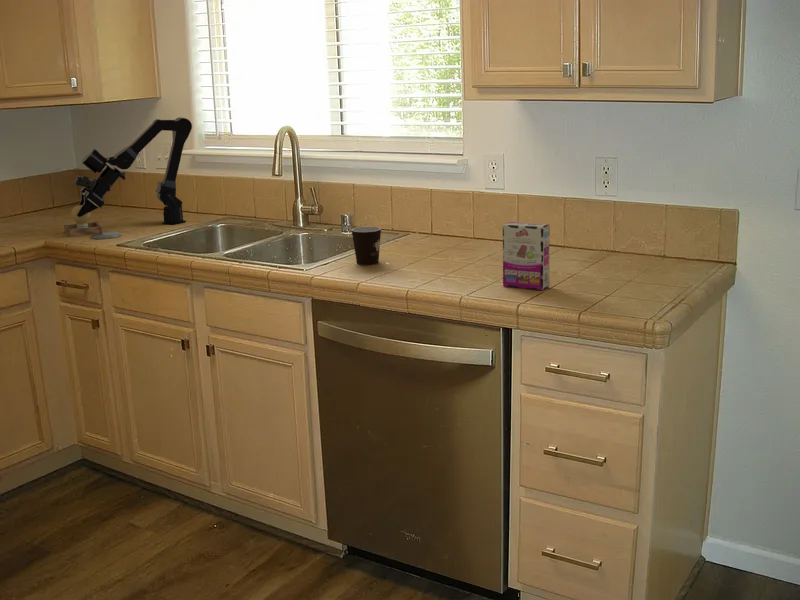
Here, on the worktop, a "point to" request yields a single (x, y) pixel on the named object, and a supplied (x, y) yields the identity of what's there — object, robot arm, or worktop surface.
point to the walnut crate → (83, 229)
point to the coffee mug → (366, 244)
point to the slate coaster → (106, 235)
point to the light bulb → (80, 220)
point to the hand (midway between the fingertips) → (76, 215)
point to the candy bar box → (526, 255)
